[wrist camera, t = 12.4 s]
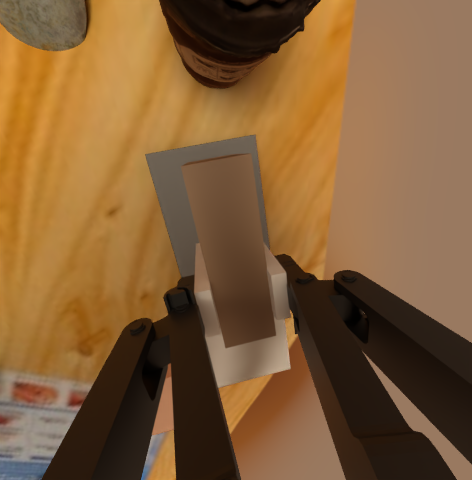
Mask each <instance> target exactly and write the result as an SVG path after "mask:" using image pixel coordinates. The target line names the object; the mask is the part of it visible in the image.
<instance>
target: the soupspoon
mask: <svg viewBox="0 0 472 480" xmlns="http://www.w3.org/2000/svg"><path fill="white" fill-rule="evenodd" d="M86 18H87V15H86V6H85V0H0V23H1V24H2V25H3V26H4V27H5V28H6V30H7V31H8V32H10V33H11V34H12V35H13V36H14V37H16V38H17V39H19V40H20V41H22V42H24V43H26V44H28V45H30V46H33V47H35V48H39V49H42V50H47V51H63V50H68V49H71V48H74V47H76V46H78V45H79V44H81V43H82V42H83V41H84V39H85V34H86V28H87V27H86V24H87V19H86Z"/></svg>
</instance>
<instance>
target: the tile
mask: <svg viewBox="0 0 472 480" xmlns="http://www.w3.org/2000/svg"><path fill="white" fill-rule="evenodd" d="M173 429H174V421H173V401H172V380H171V363H170V364H168V370H167V374H166V378H165V382H164V386H163V391H162V395H161V399H160V403H159V407H158V411H157V415H156V419H155V423H154V427H153V432H152V435H156V434H159V433H163V432H166V431H170V430H173Z"/></svg>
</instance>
